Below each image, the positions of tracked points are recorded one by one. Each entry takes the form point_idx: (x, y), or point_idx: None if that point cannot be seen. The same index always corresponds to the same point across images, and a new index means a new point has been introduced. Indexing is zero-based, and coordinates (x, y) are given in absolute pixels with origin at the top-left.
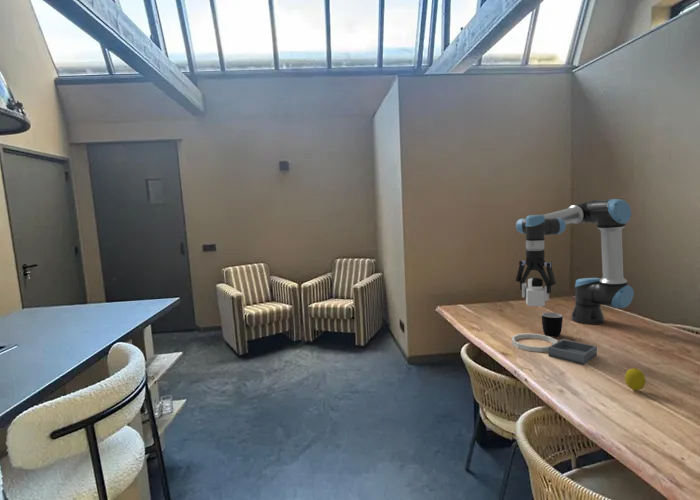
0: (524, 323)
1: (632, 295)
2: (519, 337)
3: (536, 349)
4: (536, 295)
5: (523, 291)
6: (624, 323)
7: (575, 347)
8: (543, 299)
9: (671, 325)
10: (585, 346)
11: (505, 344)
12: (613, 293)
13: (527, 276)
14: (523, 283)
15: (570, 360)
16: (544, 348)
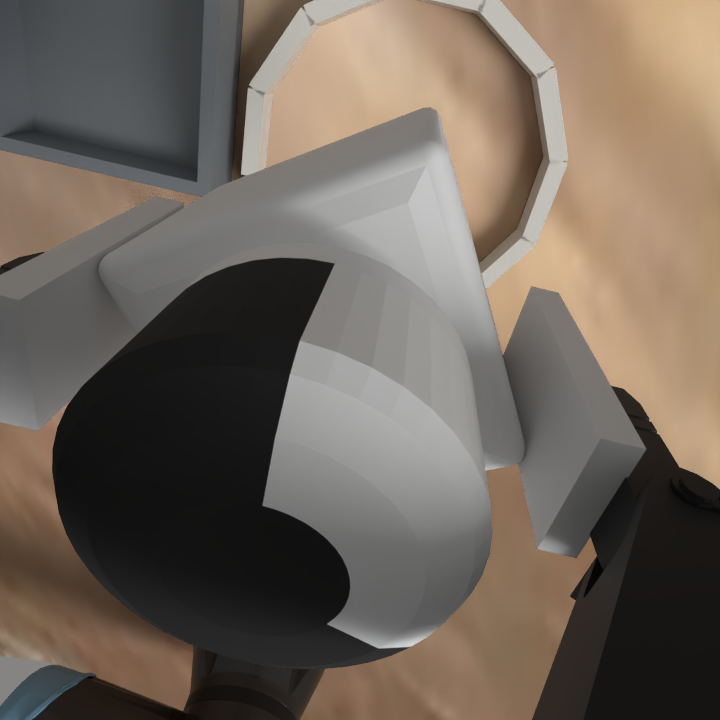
0: (526, 523)
1: None
2: (515, 234)
3: None
4: (270, 184)
5: (554, 336)
6: (138, 636)
7: (135, 157)
8: (190, 205)
9: (14, 652)
10: (62, 148)
11: (600, 37)
12: None
13: (537, 711)
14: (602, 469)
15: None
16: (293, 19)
